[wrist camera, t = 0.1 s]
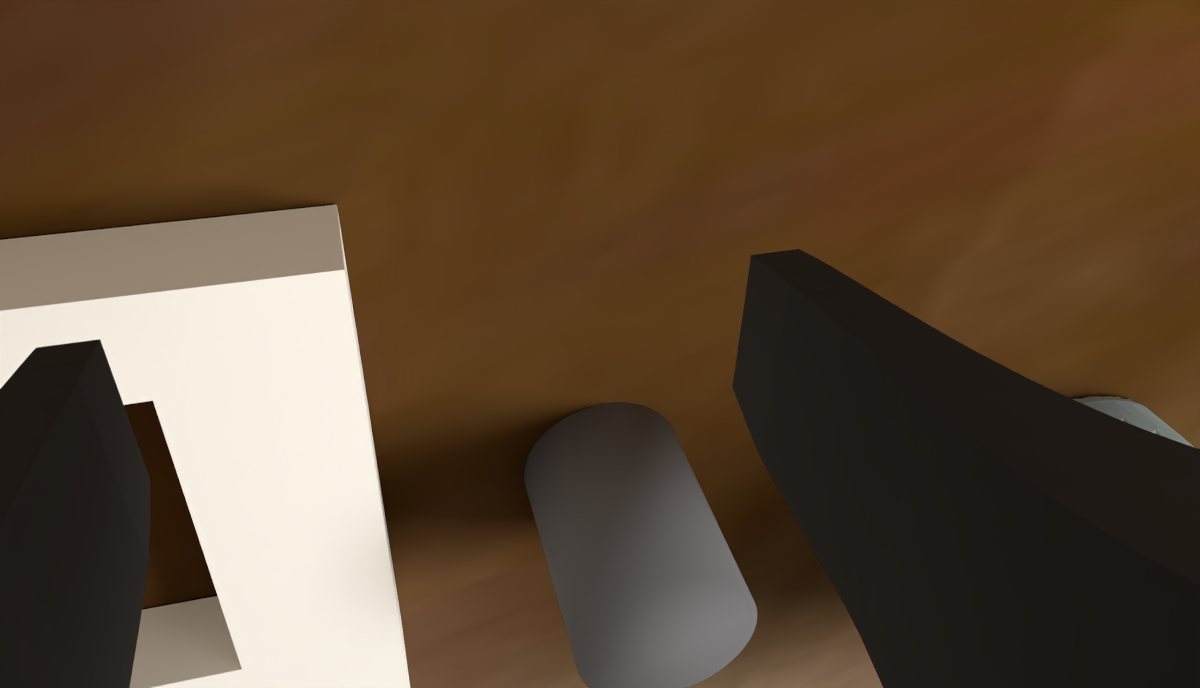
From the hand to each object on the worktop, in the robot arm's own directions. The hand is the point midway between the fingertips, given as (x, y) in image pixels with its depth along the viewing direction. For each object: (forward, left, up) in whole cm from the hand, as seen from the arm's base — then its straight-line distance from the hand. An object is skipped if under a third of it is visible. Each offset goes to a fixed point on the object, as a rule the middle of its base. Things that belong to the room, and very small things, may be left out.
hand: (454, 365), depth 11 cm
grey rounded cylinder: (-12, -5, -10) cm, 17 cm away
